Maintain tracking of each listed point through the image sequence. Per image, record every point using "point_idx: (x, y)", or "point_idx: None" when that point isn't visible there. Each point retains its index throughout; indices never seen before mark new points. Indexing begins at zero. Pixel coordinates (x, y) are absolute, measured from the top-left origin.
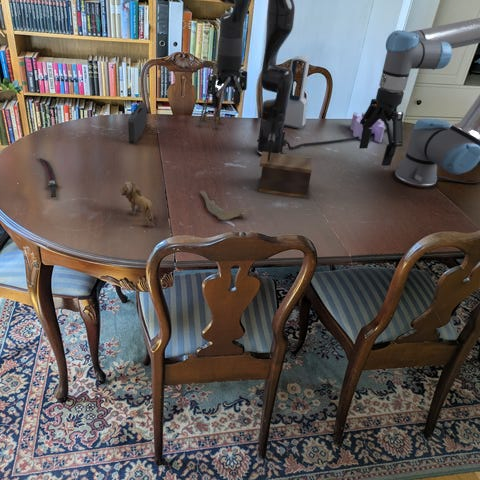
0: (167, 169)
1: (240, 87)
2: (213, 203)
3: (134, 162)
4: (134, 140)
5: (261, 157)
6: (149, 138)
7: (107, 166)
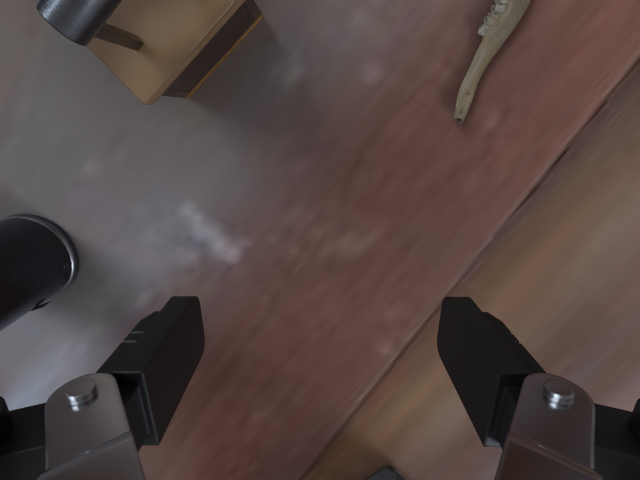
0: (419, 310)
1: (55, 447)
2: (503, 5)
3: None
4: (393, 473)
5: (196, 42)
6: (329, 476)
7: None
